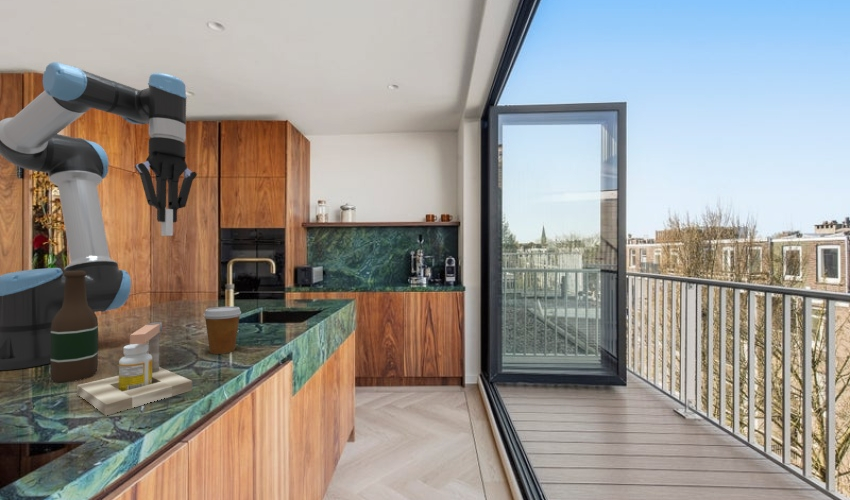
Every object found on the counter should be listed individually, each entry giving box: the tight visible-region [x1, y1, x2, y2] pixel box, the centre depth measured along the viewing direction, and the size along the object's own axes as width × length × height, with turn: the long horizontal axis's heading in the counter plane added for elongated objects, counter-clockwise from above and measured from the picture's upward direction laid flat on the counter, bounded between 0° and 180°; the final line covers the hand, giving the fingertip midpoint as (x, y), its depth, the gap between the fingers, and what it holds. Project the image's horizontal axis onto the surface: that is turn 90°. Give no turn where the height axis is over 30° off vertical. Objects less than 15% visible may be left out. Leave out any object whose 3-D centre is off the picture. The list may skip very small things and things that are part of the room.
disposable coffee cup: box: [202, 306, 242, 355], centre depth 105 cm, size 10×10×12 cm
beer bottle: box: [50, 271, 99, 383], centre depth 83 cm, size 8×8×24 cm
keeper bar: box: [129, 321, 163, 345], centre depth 77 cm, size 12×3×2 cm, turn 23°
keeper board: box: [76, 332, 193, 417], centre depth 75 cm, size 16×14×10 cm
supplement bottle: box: [118, 342, 152, 392], centre depth 75 cm, size 5×5×10 cm
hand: (166, 235), depth 92 cm, fingers closed
